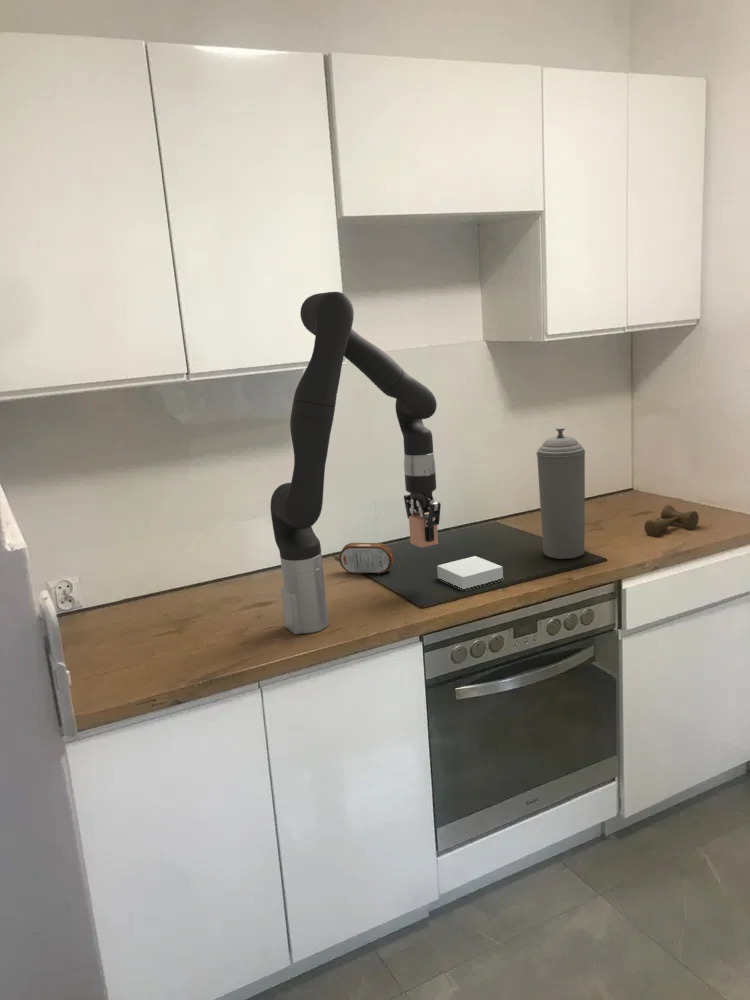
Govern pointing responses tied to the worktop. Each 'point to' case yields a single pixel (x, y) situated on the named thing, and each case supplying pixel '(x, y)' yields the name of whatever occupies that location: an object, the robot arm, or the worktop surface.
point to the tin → (366, 558)
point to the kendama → (670, 521)
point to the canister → (562, 496)
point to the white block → (469, 572)
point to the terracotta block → (420, 531)
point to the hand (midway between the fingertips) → (424, 538)
